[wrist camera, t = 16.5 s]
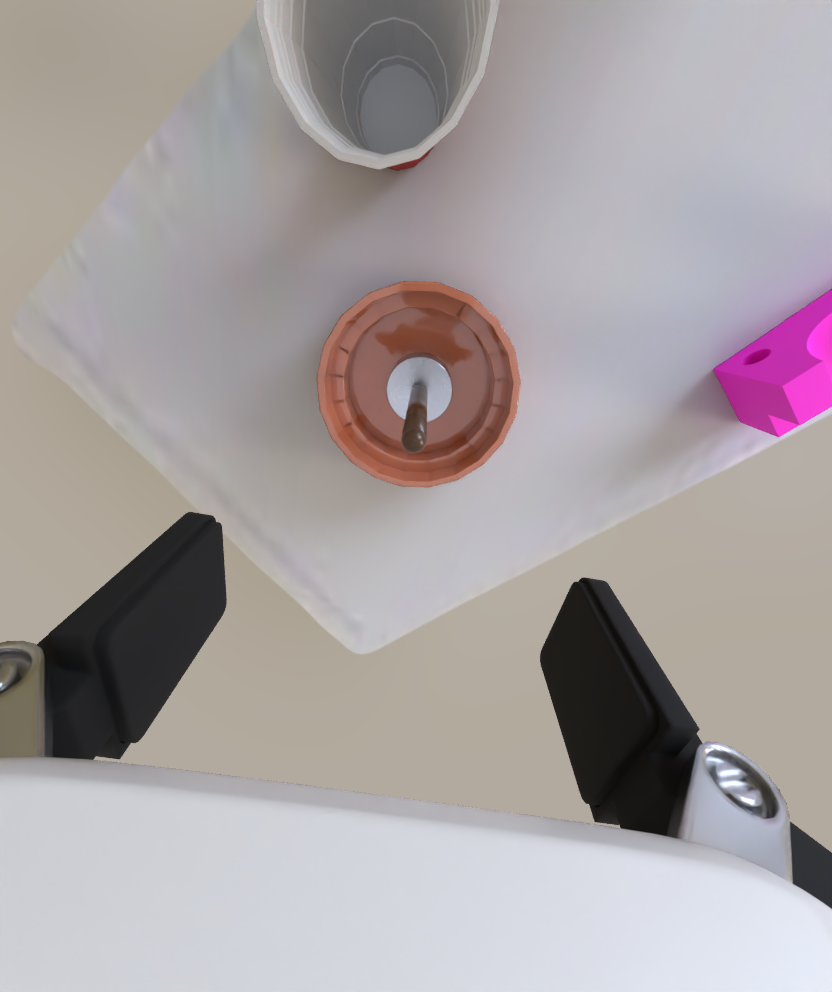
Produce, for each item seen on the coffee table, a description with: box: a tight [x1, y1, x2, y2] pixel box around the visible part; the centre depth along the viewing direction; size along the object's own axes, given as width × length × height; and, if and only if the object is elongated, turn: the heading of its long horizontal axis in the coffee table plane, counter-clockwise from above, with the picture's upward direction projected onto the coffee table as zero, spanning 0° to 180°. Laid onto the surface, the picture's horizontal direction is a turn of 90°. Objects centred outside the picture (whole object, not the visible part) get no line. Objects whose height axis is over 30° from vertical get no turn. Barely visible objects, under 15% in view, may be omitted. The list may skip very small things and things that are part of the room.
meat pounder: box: [386, 352, 453, 453], centre depth 28 cm, size 6×6×16 cm
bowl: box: [317, 281, 521, 487], centre depth 33 cm, size 16×16×5 cm
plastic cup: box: [256, 0, 499, 171], centre depth 22 cm, size 11×11×12 cm
